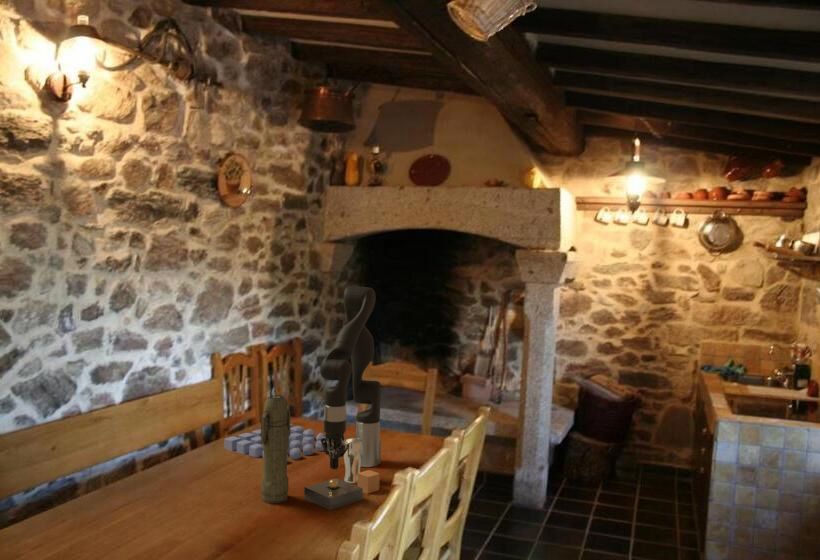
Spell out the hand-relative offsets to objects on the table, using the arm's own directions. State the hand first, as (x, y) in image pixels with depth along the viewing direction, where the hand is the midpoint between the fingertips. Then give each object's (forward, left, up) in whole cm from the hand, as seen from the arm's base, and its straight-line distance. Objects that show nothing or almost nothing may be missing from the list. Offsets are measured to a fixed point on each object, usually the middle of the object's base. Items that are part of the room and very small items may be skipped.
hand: (334, 468), depth 237 cm
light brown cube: (-15, +1, -11) cm, 19 cm away
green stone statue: (+14, -14, -11) cm, 23 cm away
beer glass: (-17, -10, -11) cm, 23 cm away
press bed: (0, 0, -11) cm, 11 cm away
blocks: (-22, -61, -12) cm, 66 cm away
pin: (0, 0, -8) cm, 8 cm away
